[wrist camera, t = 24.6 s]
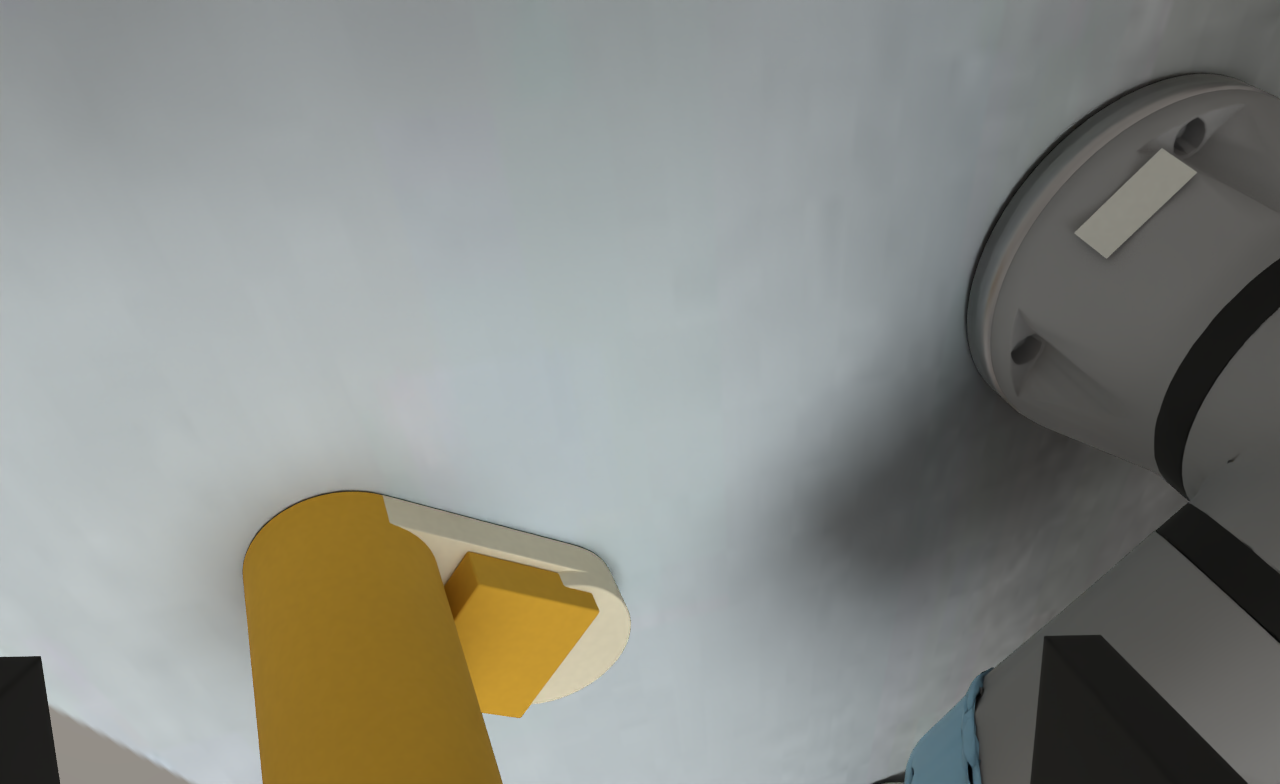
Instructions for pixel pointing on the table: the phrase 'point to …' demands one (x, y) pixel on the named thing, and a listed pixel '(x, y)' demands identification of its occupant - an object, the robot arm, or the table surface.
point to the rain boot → (412, 638)
